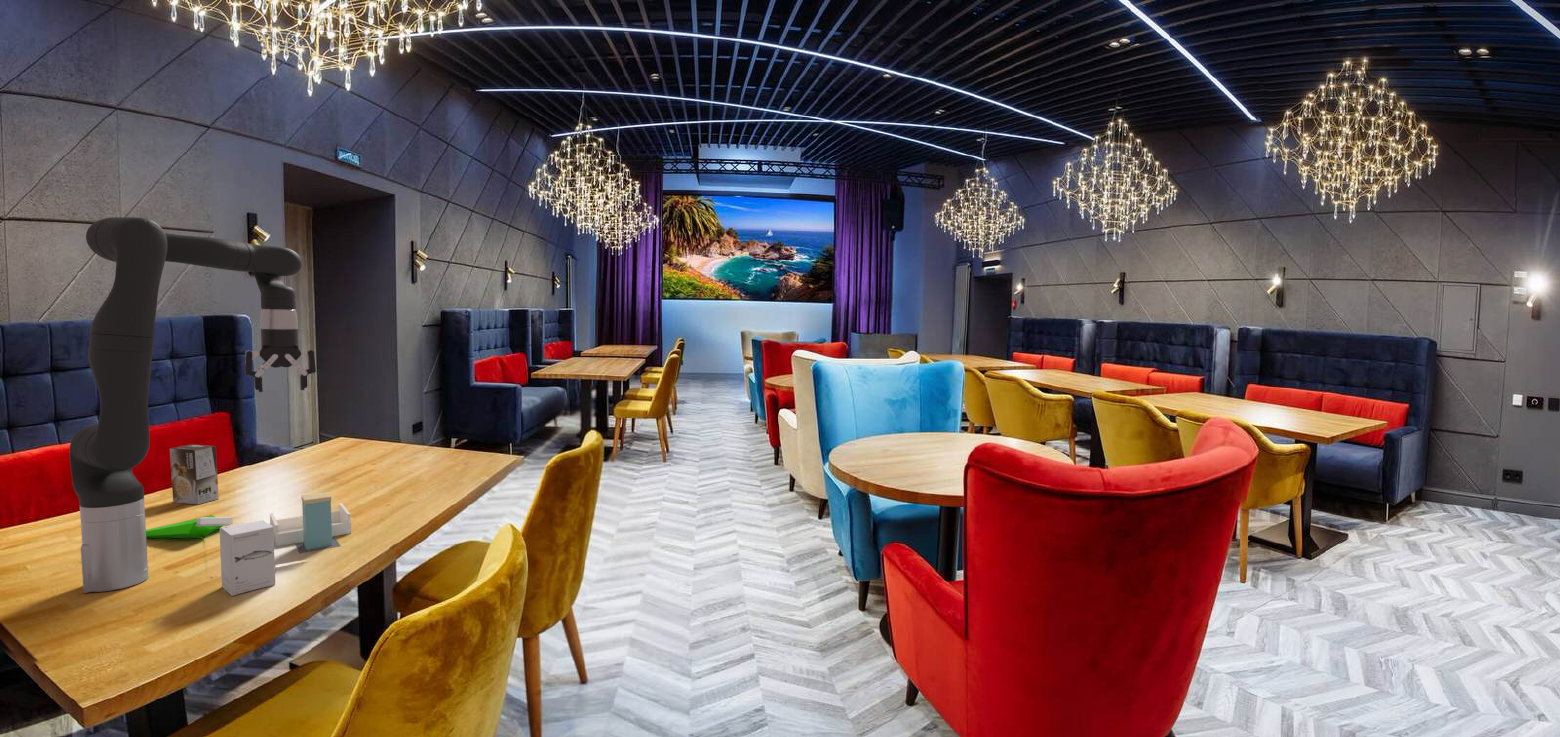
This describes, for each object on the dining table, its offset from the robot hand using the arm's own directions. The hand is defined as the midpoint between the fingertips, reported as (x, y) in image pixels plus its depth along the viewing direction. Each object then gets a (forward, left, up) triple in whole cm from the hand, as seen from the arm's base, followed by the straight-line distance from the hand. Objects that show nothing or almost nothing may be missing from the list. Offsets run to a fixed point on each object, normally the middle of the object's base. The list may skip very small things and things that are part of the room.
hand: (281, 390), depth 166 cm
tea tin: (+4, -20, -36) cm, 41 cm away
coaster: (+4, -20, -36) cm, 42 cm away
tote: (+4, -9, -36) cm, 37 cm away
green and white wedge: (-23, +8, -36) cm, 44 cm away
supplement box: (-10, -38, -36) cm, 53 cm away
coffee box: (-17, +45, -36) cm, 60 cm away
